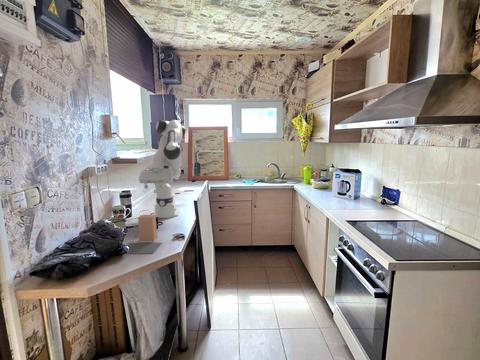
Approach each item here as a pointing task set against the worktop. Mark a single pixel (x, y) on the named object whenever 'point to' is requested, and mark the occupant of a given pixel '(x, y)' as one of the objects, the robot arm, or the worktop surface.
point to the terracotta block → (147, 228)
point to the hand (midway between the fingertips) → (153, 187)
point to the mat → (142, 248)
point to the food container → (118, 222)
